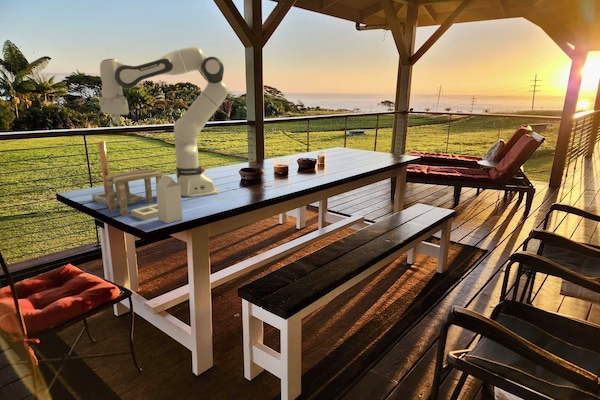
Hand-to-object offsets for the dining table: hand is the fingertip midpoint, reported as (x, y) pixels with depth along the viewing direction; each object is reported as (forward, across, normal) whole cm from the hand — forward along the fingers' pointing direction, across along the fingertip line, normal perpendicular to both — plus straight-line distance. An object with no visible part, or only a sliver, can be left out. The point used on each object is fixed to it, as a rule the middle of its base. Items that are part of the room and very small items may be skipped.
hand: (116, 123), depth 191 cm
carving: (+36, -16, +9) cm, 41 cm away
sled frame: (+36, -10, +10) cm, 39 cm away
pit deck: (+36, -41, +10) cm, 56 cm away
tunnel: (+36, -28, +10) cm, 47 cm away
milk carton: (+37, -53, +10) cm, 65 cm away
